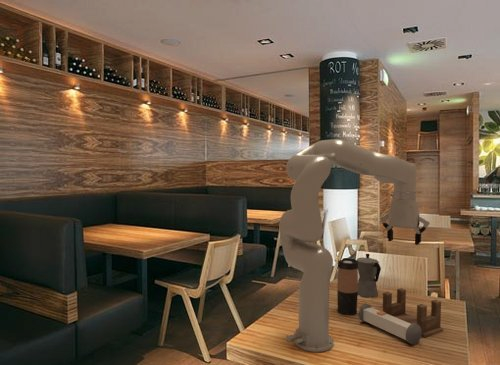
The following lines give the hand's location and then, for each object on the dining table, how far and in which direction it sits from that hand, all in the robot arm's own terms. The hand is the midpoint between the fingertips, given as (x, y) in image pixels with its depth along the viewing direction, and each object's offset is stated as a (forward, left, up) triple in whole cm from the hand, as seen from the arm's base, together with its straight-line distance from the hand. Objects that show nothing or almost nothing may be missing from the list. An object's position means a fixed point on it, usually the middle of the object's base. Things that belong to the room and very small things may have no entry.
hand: (403, 242), depth 139 cm
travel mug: (-14, +14, -28) cm, 35 cm away
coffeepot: (+8, +23, -28) cm, 38 cm away
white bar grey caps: (-15, -6, -28) cm, 32 cm away
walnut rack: (-3, -6, -28) cm, 29 cm away
